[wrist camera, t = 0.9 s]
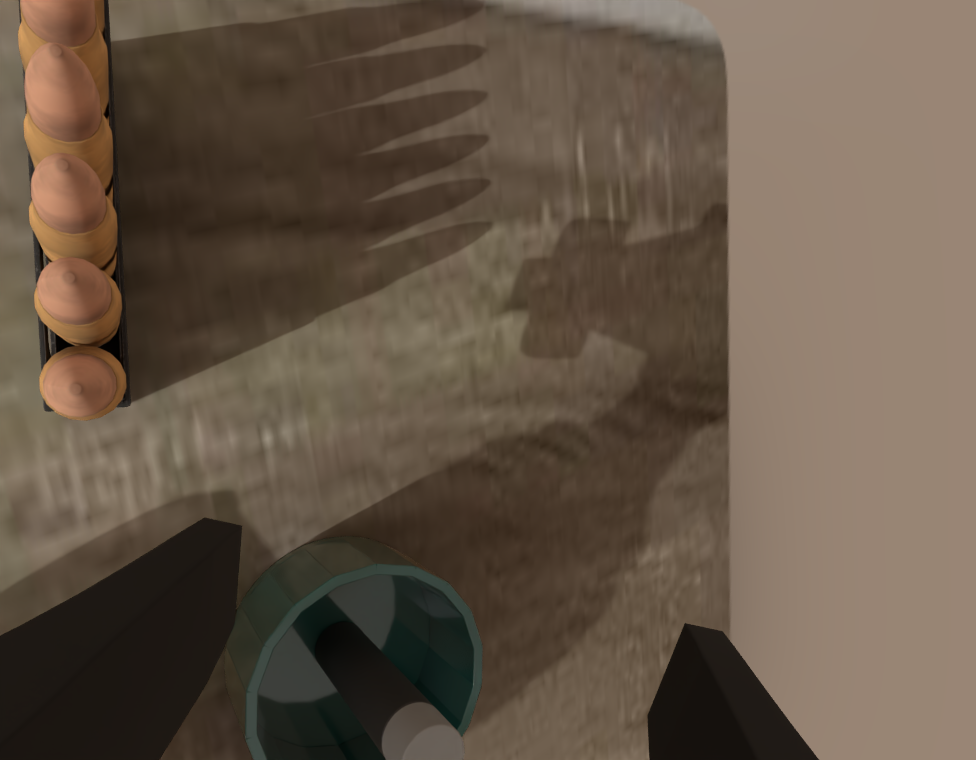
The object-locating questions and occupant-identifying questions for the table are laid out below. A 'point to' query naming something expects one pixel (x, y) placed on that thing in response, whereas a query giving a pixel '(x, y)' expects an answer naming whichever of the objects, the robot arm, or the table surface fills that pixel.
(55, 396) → the ammunition clip
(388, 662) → the marker
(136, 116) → the table surface
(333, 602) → the pen cup
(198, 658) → the robot arm
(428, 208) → the table surface
